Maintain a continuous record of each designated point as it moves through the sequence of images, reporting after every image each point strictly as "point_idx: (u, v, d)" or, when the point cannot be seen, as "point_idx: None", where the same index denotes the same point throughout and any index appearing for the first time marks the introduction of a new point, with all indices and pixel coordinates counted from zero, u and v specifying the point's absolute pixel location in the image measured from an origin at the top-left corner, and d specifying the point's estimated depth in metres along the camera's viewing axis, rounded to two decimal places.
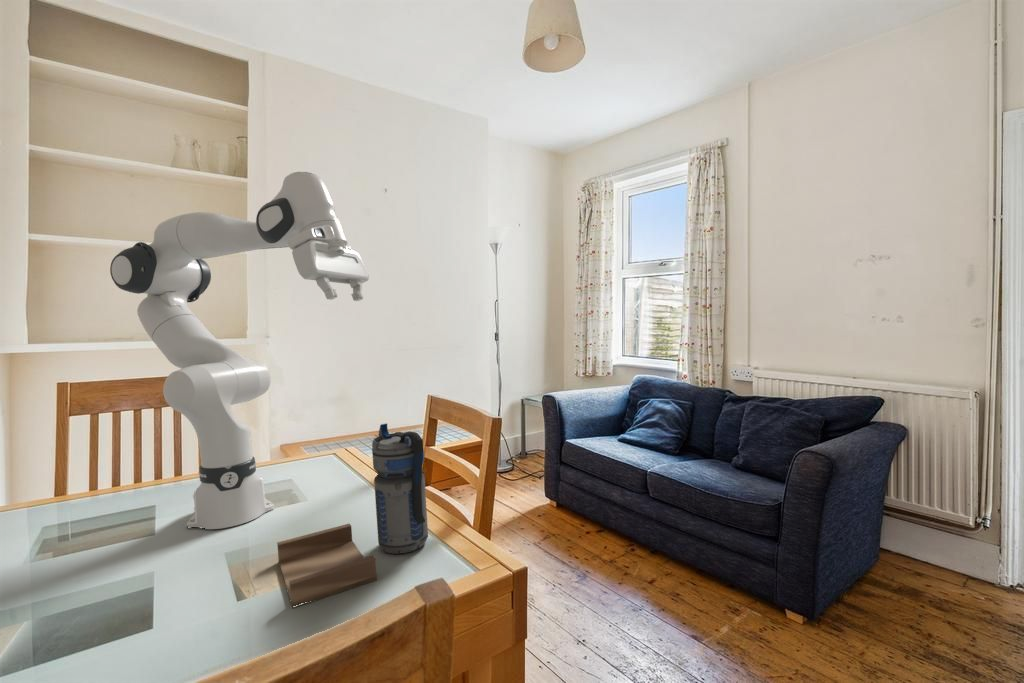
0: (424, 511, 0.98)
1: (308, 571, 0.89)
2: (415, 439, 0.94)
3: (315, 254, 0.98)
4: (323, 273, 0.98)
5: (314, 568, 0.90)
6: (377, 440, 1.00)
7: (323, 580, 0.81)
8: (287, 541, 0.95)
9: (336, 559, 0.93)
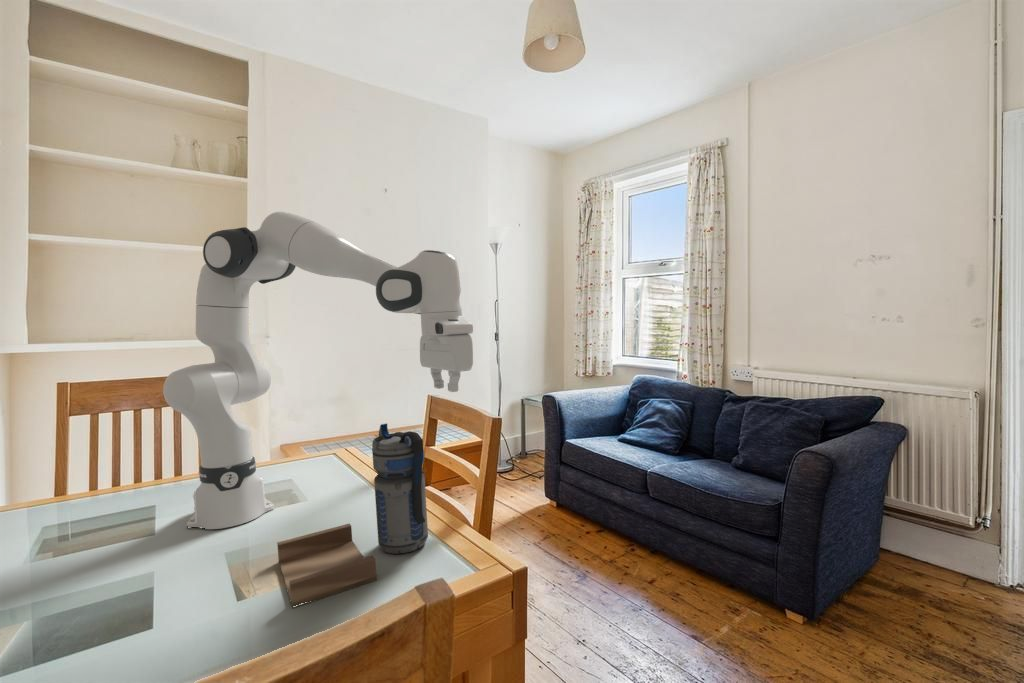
0: (424, 511, 0.98)
1: (308, 571, 0.89)
2: (415, 439, 0.94)
3: None
4: None
5: (314, 568, 0.90)
6: (377, 440, 1.00)
7: (323, 580, 0.81)
8: (287, 541, 0.95)
9: (336, 559, 0.93)
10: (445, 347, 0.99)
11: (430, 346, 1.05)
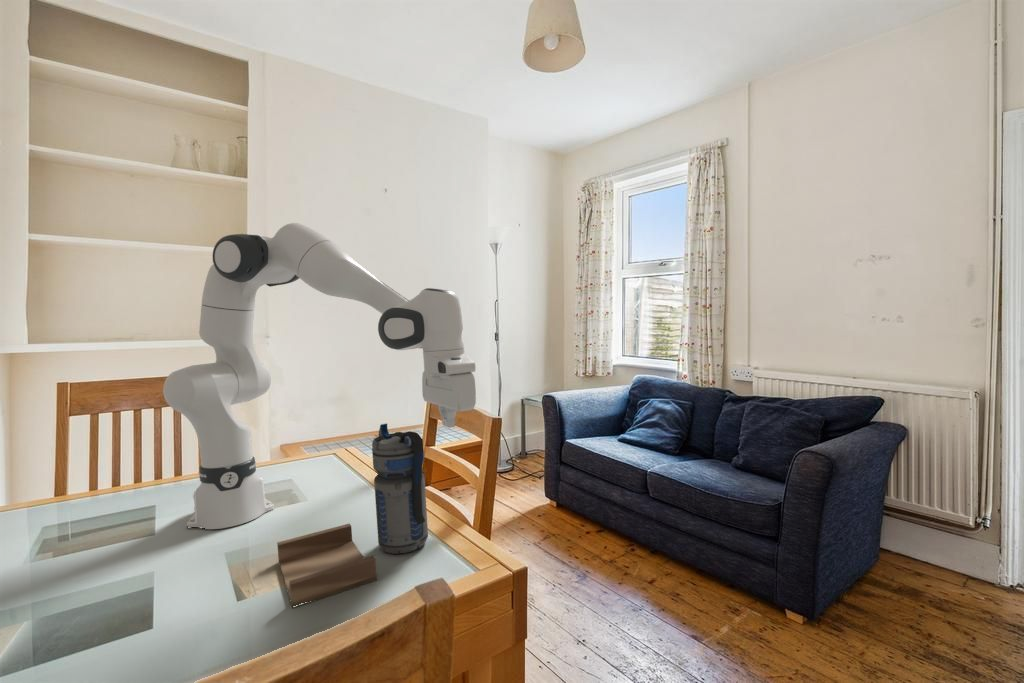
0: (424, 511, 0.98)
1: (308, 571, 0.89)
2: (415, 439, 0.94)
3: None
4: None
5: (314, 568, 0.90)
6: (377, 440, 1.00)
7: (323, 580, 0.81)
8: (287, 541, 0.95)
9: (336, 559, 0.93)
10: (447, 385, 0.99)
11: (433, 382, 1.06)
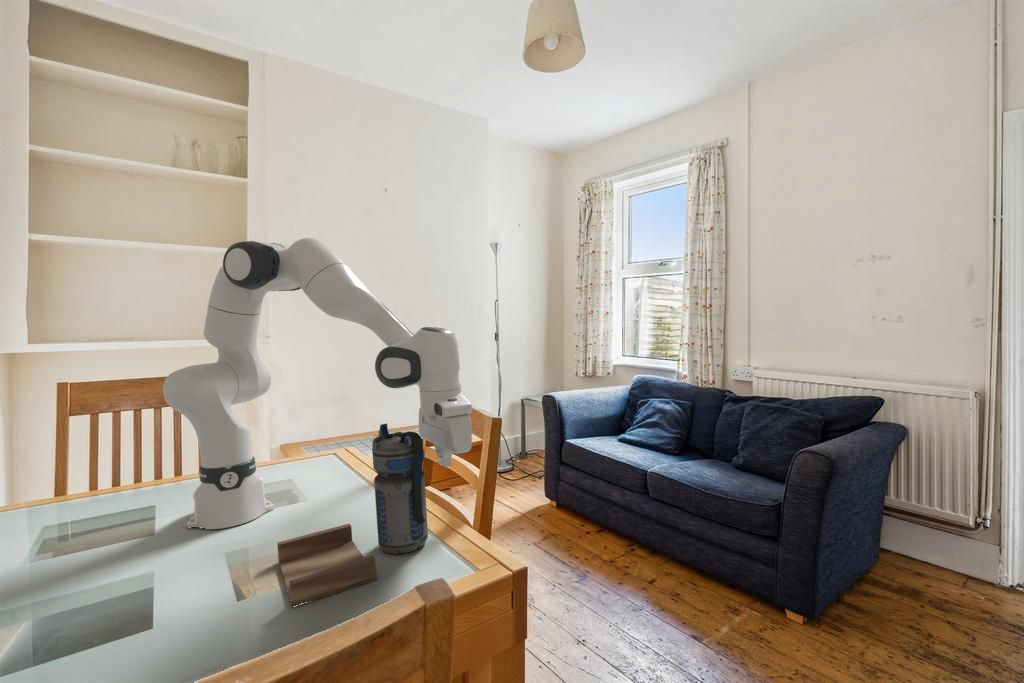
0: (424, 511, 0.98)
1: (308, 571, 0.89)
2: (415, 439, 0.94)
3: None
4: None
5: (314, 568, 0.90)
6: (377, 440, 1.00)
7: (323, 580, 0.81)
8: (287, 541, 0.95)
9: (336, 559, 0.93)
10: (444, 426, 0.99)
11: (429, 420, 1.05)
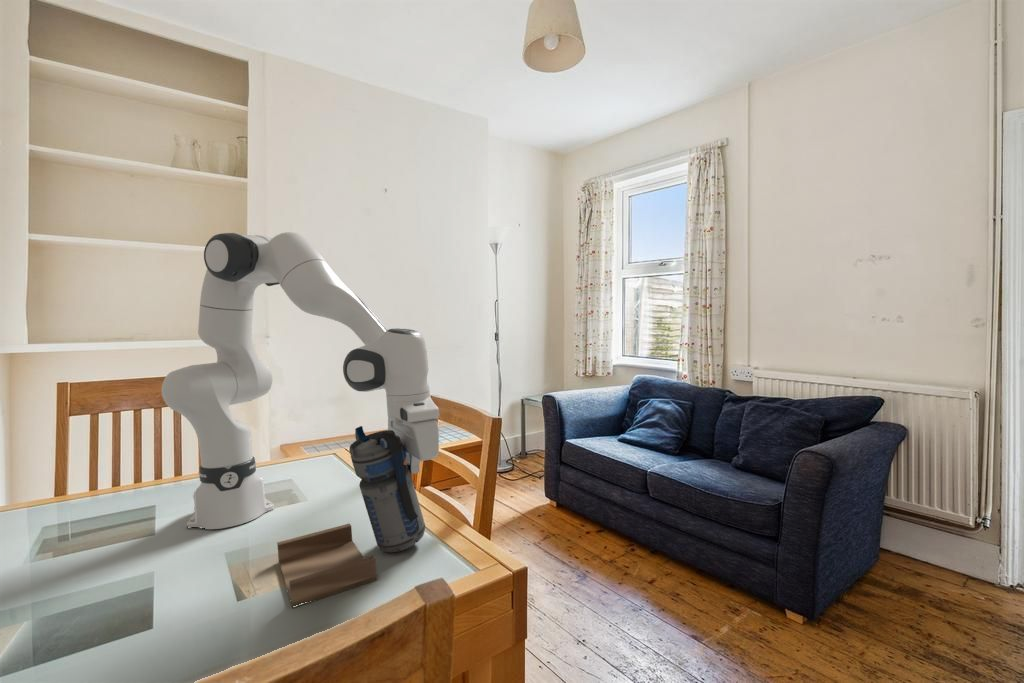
0: (416, 506, 0.97)
1: (308, 571, 0.89)
2: (390, 440, 0.91)
3: None
4: None
5: (314, 568, 0.90)
6: (355, 445, 0.97)
7: (323, 580, 0.81)
8: (287, 541, 0.95)
9: (336, 559, 0.93)
10: (410, 431, 0.95)
11: (397, 425, 1.02)
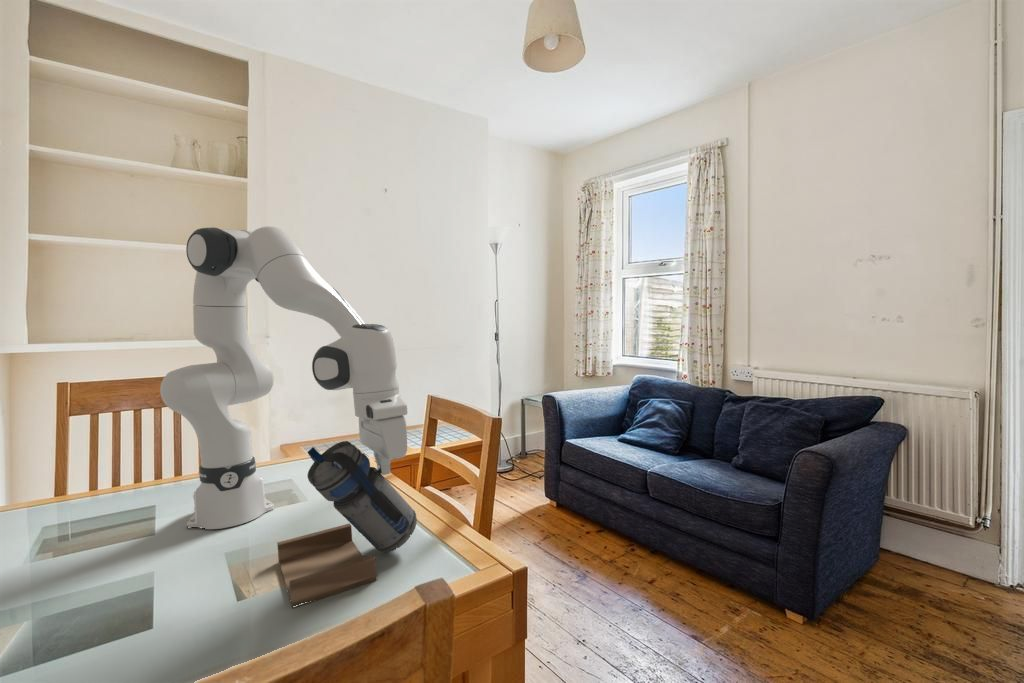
0: (398, 503, 0.95)
1: (308, 571, 0.89)
2: (342, 462, 0.84)
3: None
4: None
5: (314, 568, 0.90)
6: (313, 468, 0.92)
7: (323, 580, 0.81)
8: (287, 541, 0.95)
9: (336, 559, 0.93)
10: (378, 430, 0.91)
11: (367, 425, 0.97)
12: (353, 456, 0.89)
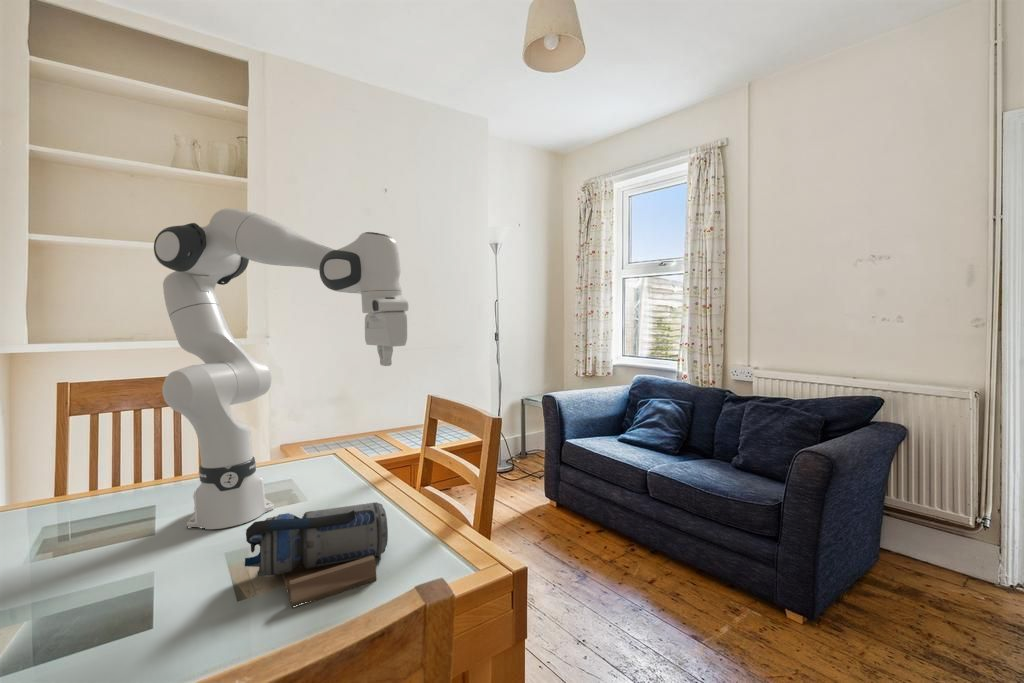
0: (347, 509, 0.93)
1: (308, 571, 0.89)
2: (252, 531, 0.83)
3: None
4: None
5: (314, 568, 0.90)
6: (262, 568, 0.89)
7: (323, 580, 0.81)
8: None
9: None
10: (382, 323, 1.04)
11: (372, 324, 1.10)
12: None
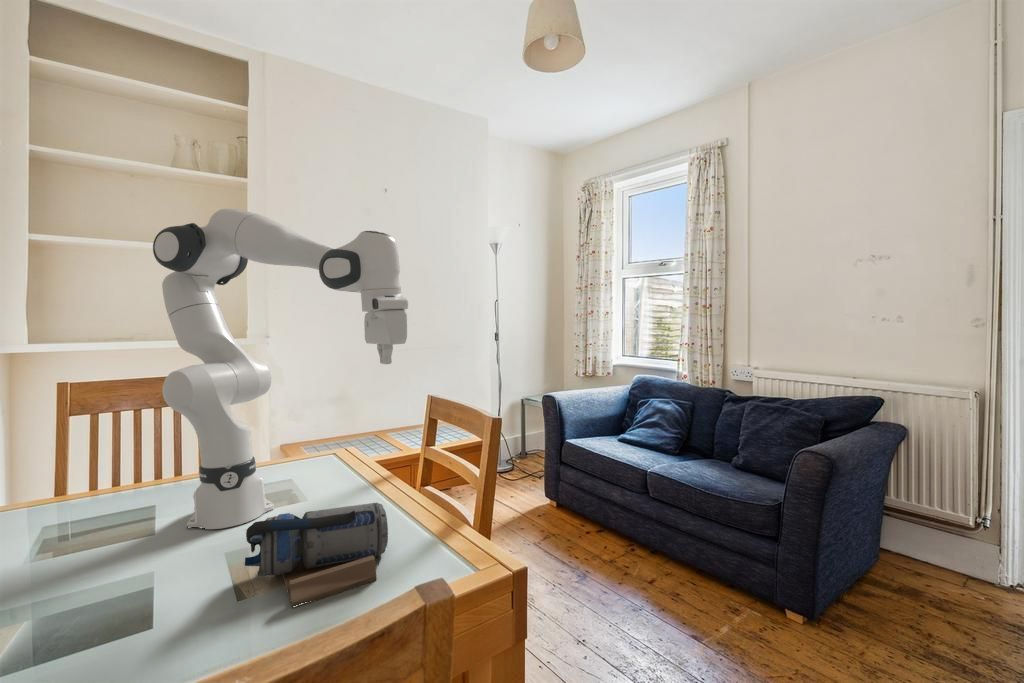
0: (347, 510, 0.93)
1: (308, 571, 0.89)
2: (252, 531, 0.83)
3: None
4: None
5: (314, 568, 0.90)
6: None
7: (323, 580, 0.81)
8: None
9: None
10: (382, 322, 1.04)
11: (372, 323, 1.11)
12: None
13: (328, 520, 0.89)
